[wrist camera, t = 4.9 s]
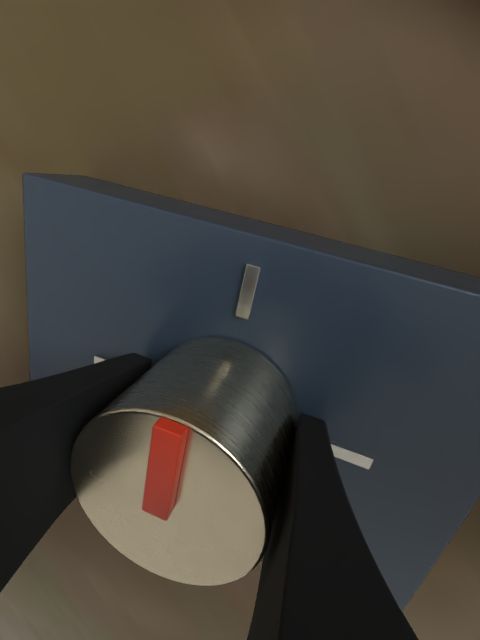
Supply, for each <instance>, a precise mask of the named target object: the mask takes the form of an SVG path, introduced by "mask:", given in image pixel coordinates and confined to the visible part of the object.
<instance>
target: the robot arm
mask: <svg viewBox="0 0 480 640" xmlns="http://www.w3.org/2000/svg"><path fill="white" fill-rule="evenodd" d="M151 366H152V359H150V358H148V357H145V356H142V355H139V354H136V353H130V354H126V355H122V356H118V357H115V358H111V359H108V360H104V361H101V362H98V363H94V364H91V365H87V366H84V367H81V368H77V369H74V370H70V371H67V372H63V373H60V374H56V375H52V376H48V377H44V378H40V379H36V380H32V381H28V382H24V383H20V384H16V385H11V386H7V387H2V388H0V592H1V591H2V590H3V588H4V587H5V585H6V584H7V583H8V581H9V580H10V579H11V577H12V576H13V575H14V573H15V572H16V571H17V569H18V568H19V567H20V565H21V564H22V563H23V561H24V560H25V559H26V557H27V556H28V555H29V553H30V552H31V551H32V550H33V548H34V547H35V546H36V544H37V543H38V542H39V541H40V539H41V538H42V537H43V535H44V534H45V533H46V531H47V530H48V529H49V528H50V526H51V525H52V524H53V523H54V521H55V520H56V519H57V518H58V517H59V515H60V514H61V513H62V512H63V511H64V510H65V509H66V507H67V506H68V505H69V504H70V503H71V502H72V501H73V500H74V499H75V498H76V497H77V495H76V493H75V490H74V486H73V483H72V478H71V470H70V460H71V452H72V448H73V445H74V442H75V440H76V438H77V436H78V434H79V433H80V431H81V430H82V428H83V427H84V426H85V425H86V424H87V423H88V422H89V421H90V420H92V419H93V418H94V417H95V416H96V415H97V414H98V413H100V412H101V411H102V410H103V409H104V408H105V407H107V406H108V405H109V404H110V403H111V402H112V401H113V400H115V399H116V398H117V397H118V396H119V395H120V394H122V393H123V392H124V391H125V390H126V389H127V388H128V387H130V386H131V385H132V384H133V383H134V382H135V381H137V380H138V379H139V378H140V377H141V376H142V375H143V374H145V373H146V372H147V371H148V370H149V369H150V368H151ZM247 640H418V638H417V636H416V635H415V633H414V631H413V630H412V628H411V626H410V625H409V623H408V621H407V619H406V618H405V616H404V614H403V613H402V611H401V609H400V608H399V606H398V604H397V602H396V600H395V598H394V596H393V595H392V593H391V591H390V589H389V587H388V585H387V583H386V581H385V579H384V578H383V576H382V574H381V572H380V570H379V568H378V566H377V564H376V562H375V559H374V557H373V555H372V553H371V551H370V549H369V547H368V545H367V543H366V540H365V538H364V536H363V534H362V531H361V529H360V527H359V524H358V522H357V520H356V517H355V515H354V512H353V510H352V507H351V505H350V502H349V499H348V497H347V494H346V491H345V488H344V485H343V483H342V480H341V477H340V474H339V471H338V468H337V464H336V461H335V458H334V454H333V450H332V447H331V443H330V438H329V434H328V429H327V425H326V423H325V421H324V420H321V419H318V418H316V417H313V416H310V415H307V414H304V413H301V416H300V419H299V422H298V425H297V428H296V431H295V435H294V439H293V443H292V447H291V451H290V455H289V460H288V465H287V470H286V474H285V478H284V482H283V486H282V490H281V494H280V498H279V502H278V506H277V510H276V514H275V518H274V522H273V526H272V530H271V534H270V538H269V542H268V546H267V549H266V551H265V553H264V558H263V564H262V570H261V576H260V582H259V587H258V593H257V599H256V603H255V608H254V613H253V618H252V622H251V626H250V630H249V634H248V638H247Z"/></svg>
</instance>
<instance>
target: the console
mask: <svg viewBox="0 0 480 640" xmlns="http://www.w3.org/2000/svg"><path fill="white" fill-rule="evenodd" d="M22 178H23V204H24V230H25V257H26V283H27V309H28V335H29V362H30V381H32V380H36V379H40V378H44V377H48V376H52V375H56V374H60V373H63V372H67V371H70V370H74V369H77V368H81V367H84V366H87V365H91V364H94V363H98V362H101V361H104V360H108V359H111V358H115V357H118V356H122V355H126V354H130V353H136V354H139V355H142V356H145V357H148V358H150V359H152V366H151V368H152V367H153V366H154V365H155V364H156V363H157V362H158V361H160V360H161V359H162V358H163V357H164V356H165V355H167V354H168V353H169V352H170V351H171V350H172V349H174V348H175V347H177V346H178V345H180V344H182V343H184V342H186V341H189V340H193V339H196V338H204V337H218V338H225V339H230V340H233V341H237V342H240V343H242V344H245V345H247V346H249V347H251V348H253V349H254V350H256V351H258V352H259V353H261V354H262V355H263V356H265V357H266V358H267V359H268V360H269V361H271V362H272V363H273V364H274V365H275V366H276V367H277V369H278V370H279V371H280V372H281V373H282V375H283V376H284V378H285V379H286V381H287V383H288V384H289V386H290V388H291V390H292V393H293V395H294V398H295V402H296V406H297V414H298V422H299V419H300V416H301V413H304V414H307V415H310V416H313V417H316V418H318V419H321V420H324V421H325V423H326V425H327V429H328V434H329V438H330V443H331V447H332V450H333V454H334V458H335V461H336V464H337V468H338V471H339V474H340V477H341V480H342V483H343V485H344V488H345V491H346V494H347V497H348V499H349V502H350V505H351V507H352V510H353V512H354V515H355V517H356V520H357V522H358V524H359V527H360V529H361V531H362V534H363V536H364V538H365V540H366V543H367V545H368V547H369V549H370V551H371V553H372V555H373V557H374V559H375V562H376V564H377V566H378V568H379V570H380V572H381V574H382V576H383V578H384V579H385V581H386V583H387V585H388V587H389V589H390V591H391V593H392V595H393V596H394V598H395V600H396V602H397V604H398V606H399V608H400V609H401V611H403V610H404V608H405V607H406V605H407V604H408V603H409V601H410V600H411V598H412V597H413V595H414V594H415V592H416V591H417V589H418V588H419V586H420V585H421V583H422V582H423V580H424V579H425V577H426V576H427V574H428V573H429V571H430V570H431V568H432V567H433V565H434V564H435V562H436V561H437V559H438V558H439V557H440V555H441V554H442V552H443V551H444V549H445V548H446V546H447V545H448V543H449V542H450V540H451V539H452V537H453V536H454V534H455V533H456V531H457V530H458V528H459V527H460V525H461V524H462V522H463V521H464V519H465V518H466V516H467V515H468V513H469V512H470V510H471V509H472V508H473V506H474V505H475V503H476V502H477V500H478V499H479V497H480V277H476V276H472V275H468V274H464V273H460V272H456V271H452V270H448V269H445V268H441V267H437V266H433V265H429V264H425V263H421V262H417V261H413V260H410V259H406V258H402V257H398V256H394V255H390V254H386V253H382V252H378V251H375V250H371V249H367V248H363V247H359V246H355V245H351V244H347V243H343V242H340V241H336V240H332V239H328V238H324V237H320V236H316V235H312V234H308V233H305V232H301V231H297V230H293V229H289V228H285V227H281V226H277V225H274V224H270V223H266V222H262V221H258V220H254V219H250V218H246V217H242V216H239V215H235V214H231V213H227V212H223V211H219V210H215V209H211V208H207V207H204V206H200V205H196V204H192V203H188V202H184V201H180V200H176V199H172V198H169V197H165V196H161V195H157V194H153V193H149V192H145V191H141V190H137V189H134V188H130V187H126V186H122V185H118V184H114V183H110V182H106V181H102V180H99V179H95V178H91V177H87V176H79V175H60V174H42V173H23V175H22ZM298 422H297V425H298Z"/></svg>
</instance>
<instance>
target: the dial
mask: <svg viewBox="0 0 480 640" xmlns="http://www.w3.org/2000/svg"><path fill="white" fill-rule="evenodd" d="M297 422H298V414H297V406H296V402H295V398H294V395H293V393H292V390H291V388H290V386H289V384H288V383H287V381H286V379H285V378H284V376H283V375H282V373H281V372H280V371H279V370H278V369H277V367H276V366H275V365H274V364H273V363H272V362H271V361H269V360H268V359H267V358H266V357H265V356H263V355H262V354H261V353H259V352H258V351H256V350H254V349H253V348H251V347H249V346H247V345H245V344H242V343H240V342H237V341H233V340H230V339H225V338H218V337H204V338H196V339H193V340H189V341H186V342H184V343H182V344H180V345H178V346H177V347H175V348H174V349H172V350H171V351H170V352H169V353H168V354H167V355H165V356H164V357H163V358H162V359H161V360H160V361H158V362H157V363H156V364H155V365H154V366H153V367H152V368H150V369H149V370H148V371H147V372H146V373H145V374H143V375H142V376H141V377H140V378H139V379H138V380H137V381H135V382H134V383H133V384H132V385H131V386H130V387H128V388H127V389H126V390H125V391H124V392H123V393H122V394H120V395H119V396H118V397H117V398H116V399H115V400H113V401H112V402H111V403H110V404H109V405H108V406H107V407H105V408H104V409H103V410H102V411H101V412H100V413H98V414H97V415H96V416H95V417H94V418H93V419H92V420H90V421H89V422H88V423H87V424H86V425H85V426H84V427H83V428H82V430H81V431H80V433H79V434H78V436H77V438H76V440H75V442H74V445H73V448H72V452H71V460H70V470H71V478H72V483H73V486H74V490H75V493H76V495H77V498H78V500H79V502H80V504H81V506H82V508H83V510H84V512H85V513H86V515H87V516H88V518H89V519H90V521H91V522H92V524H93V525H94V526H95V527H96V529H97V530H98V531H99V532H100V534H101V535H102V536H103V537H104V538H105V539H106V540H107V541H108V542H109V543H110V544H111V545H112V546H114V547H115V548H116V549H117V550H118V551H119V552H121V553H122V554H123V555H125V556H126V557H127V558H128V559H130V560H132V561H133V562H135V563H136V564H138V565H139V566H141V567H143V568H145V569H147V570H148V571H150V572H152V573H155V574H157V575H159V576H161V577H164V578H167V579H170V580H173V581H176V582H180V583H184V584H190V585H197V586H214V585H222V584H227V583H230V582H233V581H236V580H238V579H240V578H242V577H244V576H245V575H247V574H248V573H249V572H250V571H252V570H253V569H254V568H255V567H256V566H257V564H258V563H259V562H260V560H261V559H262V558H263V556H264V553H265V551H266V549H267V546H268V542H269V538H270V534H271V530H272V526H273V522H274V518H275V514H276V510H277V506H278V502H279V498H280V494H281V490H282V486H283V482H284V478H285V474H286V470H287V465H288V460H289V455H290V451H291V447H292V443H293V439H294V435H295V431H296V428H297Z"/></svg>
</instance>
